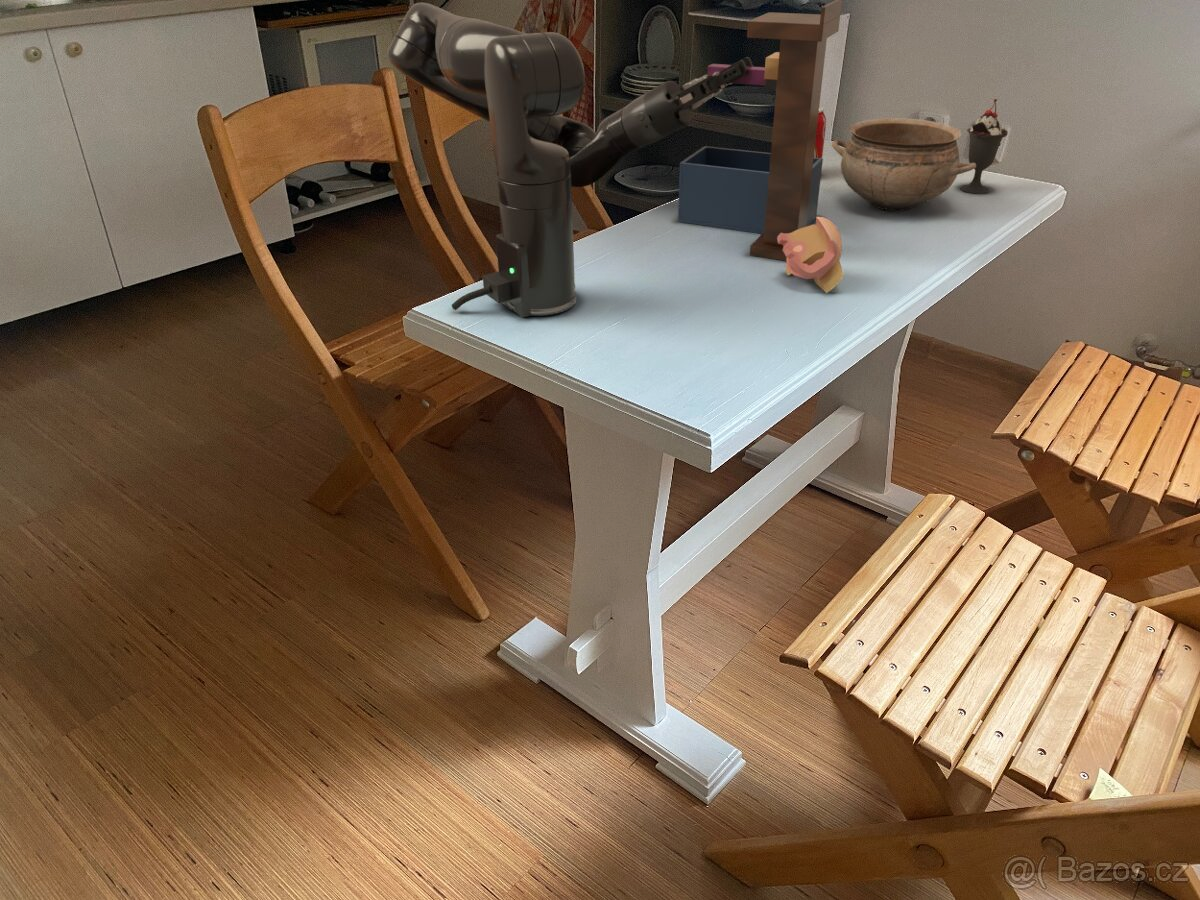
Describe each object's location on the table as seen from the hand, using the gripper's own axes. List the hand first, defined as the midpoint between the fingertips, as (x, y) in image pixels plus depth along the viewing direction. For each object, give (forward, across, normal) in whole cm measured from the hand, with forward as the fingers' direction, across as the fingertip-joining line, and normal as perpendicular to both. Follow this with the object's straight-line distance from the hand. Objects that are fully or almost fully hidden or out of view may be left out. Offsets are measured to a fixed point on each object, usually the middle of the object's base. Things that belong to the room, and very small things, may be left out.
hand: (747, 64), depth 135 cm
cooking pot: (+7, -17, -32) cm, 37 cm away
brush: (+1, 0, -4) cm, 4 cm away
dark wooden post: (-3, +12, -25) cm, 28 cm away
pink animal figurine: (+4, +22, -30) cm, 37 cm away
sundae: (+17, -31, -38) cm, 52 cm away
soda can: (-9, -28, -22) cm, 37 cm away
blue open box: (-10, 0, -22) cm, 24 cm away
